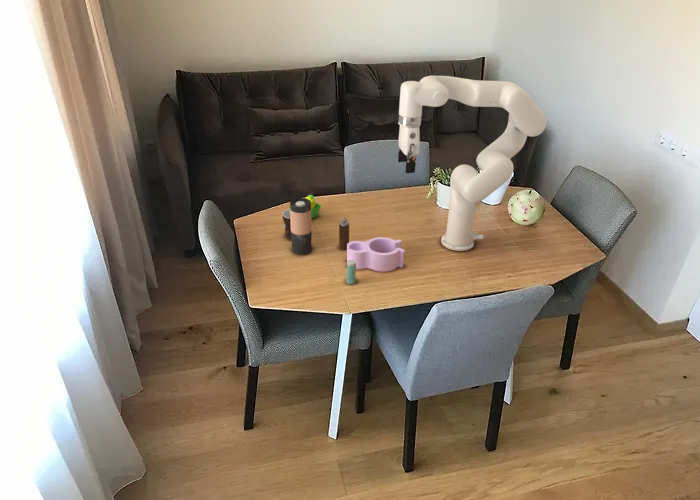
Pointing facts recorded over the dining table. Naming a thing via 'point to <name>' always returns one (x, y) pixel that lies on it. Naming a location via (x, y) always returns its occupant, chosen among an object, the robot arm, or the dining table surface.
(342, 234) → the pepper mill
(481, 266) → the dining table surface
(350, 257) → the clip
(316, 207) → the fruit basket
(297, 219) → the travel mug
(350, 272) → the green cylinder
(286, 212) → the coffee mug
